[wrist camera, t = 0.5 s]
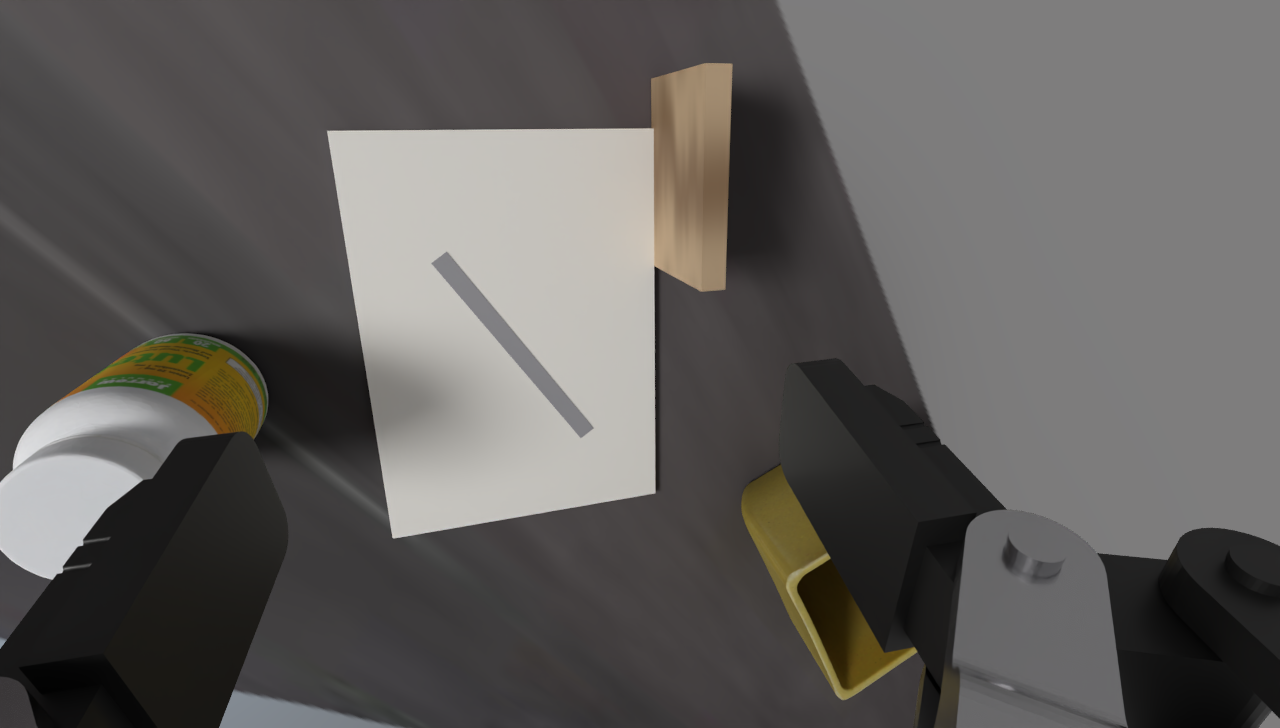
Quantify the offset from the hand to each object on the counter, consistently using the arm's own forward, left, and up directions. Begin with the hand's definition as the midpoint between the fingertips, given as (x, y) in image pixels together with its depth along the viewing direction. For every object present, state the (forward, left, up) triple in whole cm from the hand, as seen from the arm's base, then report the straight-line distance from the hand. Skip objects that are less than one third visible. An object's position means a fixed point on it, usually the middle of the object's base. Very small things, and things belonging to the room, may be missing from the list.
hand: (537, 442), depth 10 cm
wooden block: (-3, +9, -19) cm, 22 cm away
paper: (+4, +2, -19) cm, 20 cm away
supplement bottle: (+5, -11, -20) cm, 23 cm away
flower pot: (+15, +17, -20) cm, 30 cm away
